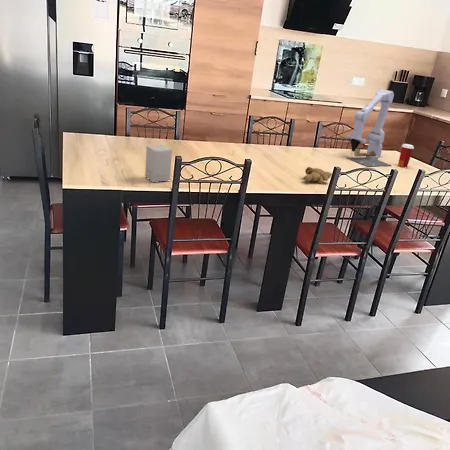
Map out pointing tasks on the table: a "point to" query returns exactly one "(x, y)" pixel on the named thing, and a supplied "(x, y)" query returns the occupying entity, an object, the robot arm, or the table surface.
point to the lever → (357, 153)
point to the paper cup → (405, 155)
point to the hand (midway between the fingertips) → (353, 151)
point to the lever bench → (369, 161)
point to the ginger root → (316, 175)
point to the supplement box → (158, 163)
